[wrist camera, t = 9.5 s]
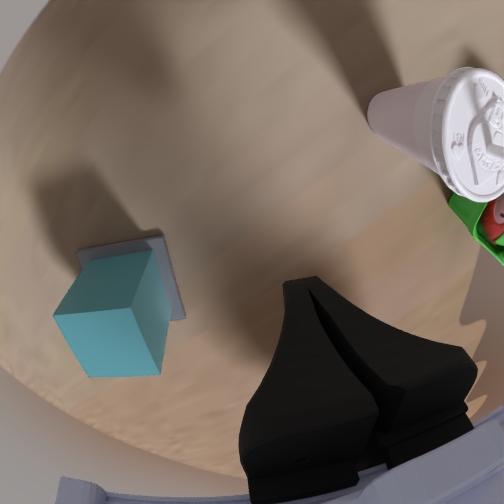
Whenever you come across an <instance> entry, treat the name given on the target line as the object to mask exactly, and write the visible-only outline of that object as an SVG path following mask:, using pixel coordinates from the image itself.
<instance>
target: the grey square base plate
mask: <svg viewBox="0 0 504 504" xmlns="http://www.w3.org/2000/svg"><path fill="white" fill-rule="evenodd" d="M149 250H153V252H154V255H155V259H156V262H157V266H158V269H159V273H160V276H161V279H162V282H163V286H164V289H165V292H166V295H167V298H168V301H169V304H170V307H171V315H170V320H169V321H173V320H181V319H186V314H185V310H184V307H183V303H182V300H181V297H180V293H179V290H178V286H177V283H176V279H175V275H174V272H173V268H172V264H171V261H170V257H169V253H168V249H167V245H166V241H165V237H164V235H158V236H152V237H146V238H140V239H135V240H129V241H123V242H118V243H112V244H107V245H101V246H96V247H90V248H85V249H80V250H78V251H77V252H76V255H77V258H78V261H79V264H80V266H81V269H82V270H83V268H84V267H85V266H86V264H87V263H88V261H91V260H96V259H102V258H108V257H114V256H120V255H126V254H131V253H137V252H143V251H149Z"/></svg>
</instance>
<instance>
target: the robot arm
mask: <svg viewBox="0 0 504 504" xmlns="http://www.w3.org/2000/svg"><path fill="white" fill-rule="evenodd" d="M283 294H284V306H285V314H284V320H283V326H282V331H281V335H280V339H279V342H278V345H277V348H276V351H275V354H274V356H273V359H272V361H271V364H270V366H269V368H268V370H267V372H266V374H265V376H264V378H263V380H262V382H261V384H260V386H259V387H258V389H257V391H256V392H255V394H254V395H253V397H252V398H251V400H250V401H249V403H248V404H247V406H246V410H245V413H244V417H243V420H242V424H241V428H240V434H239V454H240V462H241V465H242V467H243V469H244V471H245V473H246V476H247V478H248V487H249V494H246V495H235V496H221V497H197V498H196V497H193V498H192V497H189V498H188V497H184V498H182V497H153V496H138V495H128V494H119V493H111V492H106V491H105V490H104V489H103V488H102V487H100V486H99V485H97V484H95V483H92V482H88V481H84V480H78V479H73V478H68V477H61V478H60V482H59V487H58V492H57V497H56V503H55V504H504V405H502V406H501V407H499V408H497V409H496V410H494V411H493V412H491V413H489V414H488V415H486V416H485V417H483V418H481V419H479V420H478V421H476V422H474V423H471V422H470V420H469V418H468V416H467V415H466V413H465V412H467V411H468V406H467V405H466V403H465V402H464V400H465V398H466V396H467V395H468V393H469V391H470V389H471V388H472V386H473V384H474V382H475V380H476V377H477V372H478V368H477V366H476V364H475V363H474V362H473V360H472V359H471V358H470V356H469V355H468V354H467V353H466V351H465V350H464V349H463V348H462V347H459V346H454V345H449V344H444V343H439V342H435V341H431V340H428V339H424V338H421V337H418V336H415V335H412V334H409V333H407V332H404V331H402V330H399V329H397V328H395V327H392V326H390V325H388V324H386V323H384V322H382V321H380V320H378V319H376V318H374V317H373V316H371V315H369V314H367V313H366V312H364V311H363V310H361V309H360V308H358V307H356V306H355V305H353V304H352V303H351V302H349V301H348V300H346V299H345V298H344V297H342V296H341V295H340V294H338V293H337V292H336V291H334V290H333V289H332V288H331V287H329V286H328V285H327V284H326V283H324V282H323V281H322V280H321V279H319V278H318V277H317V276H313V277H308V278H302V279H296V280H290V281H285V282H284V283H283Z"/></svg>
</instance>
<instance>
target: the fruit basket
mask: <svg viewBox="0 0 504 504" xmlns="http://www.w3.org/2000/svg"><path fill="white" fill-rule="evenodd" d="M448 205H449V207H450V208H451V209H452V210H453V211H454V212H455V213H456V214H457V216H458V217H459V218H460V219H461V220H462V221H463V223H464V224H465V225H466V226H467V227H468V230H469V232H470V234H471V235H472V236H473V237H474V239H475V240H476V241H478V242H479V243H480V244H481V245H482V246H484V247H485V248H486V249H487V250H488V251H489V252H490V253H491V254H492V255H494V257H495V258H496V259H497V260H498V261H500V263H501V264H502V265H503V266H504V192H503V193H502V194H501V195H500V196H499V197H497V198H495V199H494V200H491V201H488V202H475V201H472V200H470V199H468V198H466V197H464V196H460V195H458V194H457V193H455V192H454V193H453V195H452V197H451V199H450V200H449V203H448Z"/></svg>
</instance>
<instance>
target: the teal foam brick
mask: <svg viewBox="0 0 504 504" xmlns="http://www.w3.org/2000/svg"><path fill="white" fill-rule="evenodd" d="M170 315H171V307H170V304H169V301H168V298H167V295H166V292H165V289H164V286H163V282H162V279H161V276H160V273H159V269H158V266H157V262H156V259H155V255H154V252H153V250H149V251H143V252H137V253H131V254H126V255H120V256H114V257H108V258H102V259H96V260H91V261H88V263H87V264H86V266H85V267H84V268H83V270H82V271H81V273H80V274H79V276H78V277H77V279H76V280H75V281H74V283H73V284H72V286H71V287H70V289H69V290H68V292H67V293H66V295H65V297H64V298H63V300H62V301H61V303H60V304H59V306H58V308H57V309H56V311H55V312H54V314H53V318H54V320H55V321H56V323H57V325H58V327H59V329H60V331H61V332H62V334H63V336H64V338H65V340H66V341H67V343H68V345H69V346H70V348H71V350H72V351H73V353H74V355H75V356H76V358H77V360H78V361H79V363H80V365H81V366H82V368H83V369H84V371H85V372H86V374H87V375H88V377H130V376H150V375H161V368H162V362H163V355H164V349H165V343H166V337H167V332H168V326H169V320H170Z"/></svg>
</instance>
